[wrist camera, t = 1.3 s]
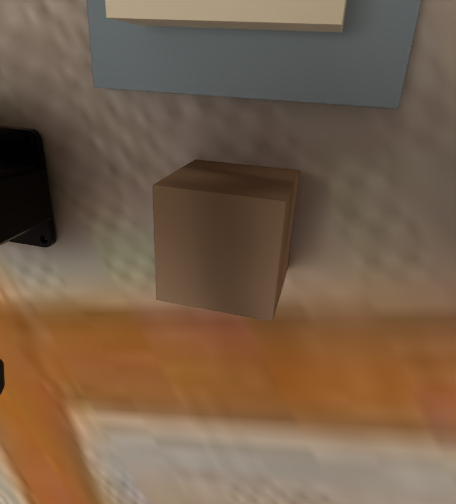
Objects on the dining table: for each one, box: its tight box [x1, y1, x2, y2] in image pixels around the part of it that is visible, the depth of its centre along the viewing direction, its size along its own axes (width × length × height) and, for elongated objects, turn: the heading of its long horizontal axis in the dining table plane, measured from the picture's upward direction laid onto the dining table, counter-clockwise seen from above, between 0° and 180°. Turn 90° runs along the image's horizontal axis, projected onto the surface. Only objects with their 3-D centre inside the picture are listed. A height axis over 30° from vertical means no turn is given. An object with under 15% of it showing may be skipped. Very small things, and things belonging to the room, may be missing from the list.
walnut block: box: [153, 160, 300, 321], centre depth 18 cm, size 5×5×5 cm
